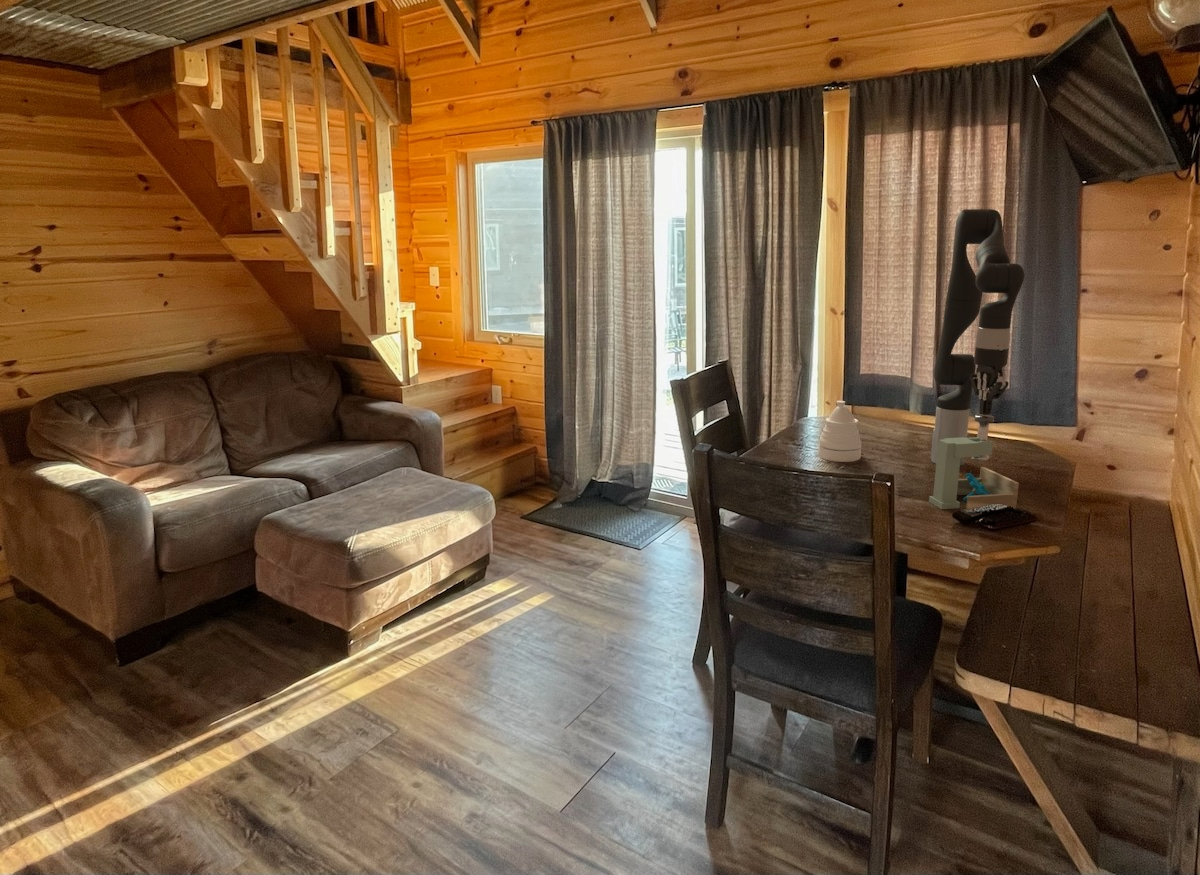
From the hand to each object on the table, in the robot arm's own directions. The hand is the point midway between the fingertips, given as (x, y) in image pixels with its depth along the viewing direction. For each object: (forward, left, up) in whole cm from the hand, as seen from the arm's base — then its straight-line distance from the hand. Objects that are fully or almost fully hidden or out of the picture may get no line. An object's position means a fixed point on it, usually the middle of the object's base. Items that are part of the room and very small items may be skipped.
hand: (984, 414), depth 203 cm
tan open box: (0, -1, -24) cm, 24 cm away
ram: (0, 0, -12) cm, 12 cm away
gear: (-1, +1, -24) cm, 24 cm away
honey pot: (-49, -15, -24) cm, 57 cm away
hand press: (0, -5, -24) cm, 24 cm away
